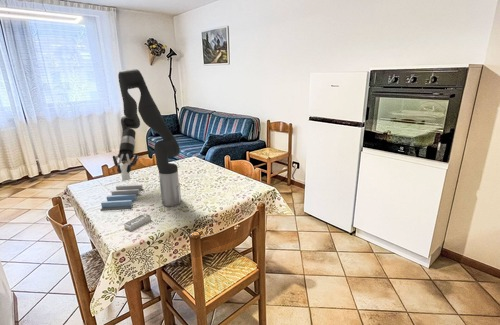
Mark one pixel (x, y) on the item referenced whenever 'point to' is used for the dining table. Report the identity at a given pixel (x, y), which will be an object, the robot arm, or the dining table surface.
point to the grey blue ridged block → (122, 197)
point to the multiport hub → (137, 221)
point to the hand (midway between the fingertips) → (123, 172)
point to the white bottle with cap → (124, 171)
